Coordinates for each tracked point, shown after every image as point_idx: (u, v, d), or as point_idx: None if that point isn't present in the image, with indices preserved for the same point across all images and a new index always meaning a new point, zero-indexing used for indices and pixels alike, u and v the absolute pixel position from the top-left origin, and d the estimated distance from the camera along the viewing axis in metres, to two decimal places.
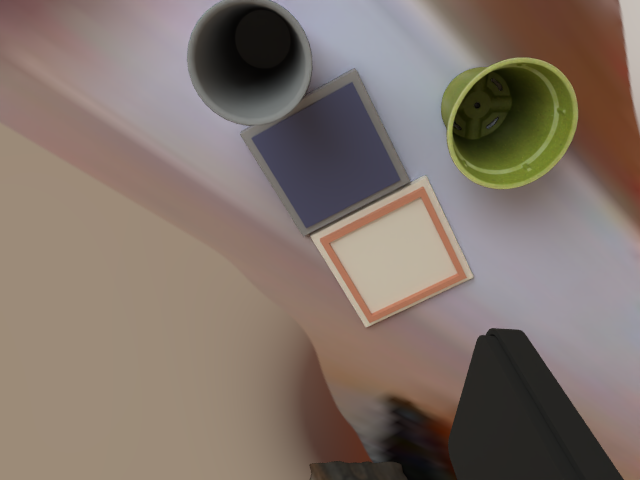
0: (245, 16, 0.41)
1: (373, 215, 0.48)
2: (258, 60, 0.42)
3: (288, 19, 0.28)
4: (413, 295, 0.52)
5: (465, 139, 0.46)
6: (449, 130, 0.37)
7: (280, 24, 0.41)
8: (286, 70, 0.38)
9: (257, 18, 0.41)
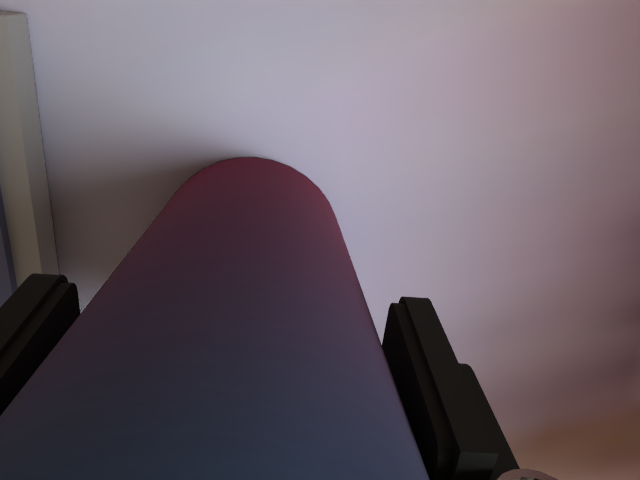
0: None
1: None
2: None
3: None
4: None
5: None
6: None
7: None
8: None
9: None
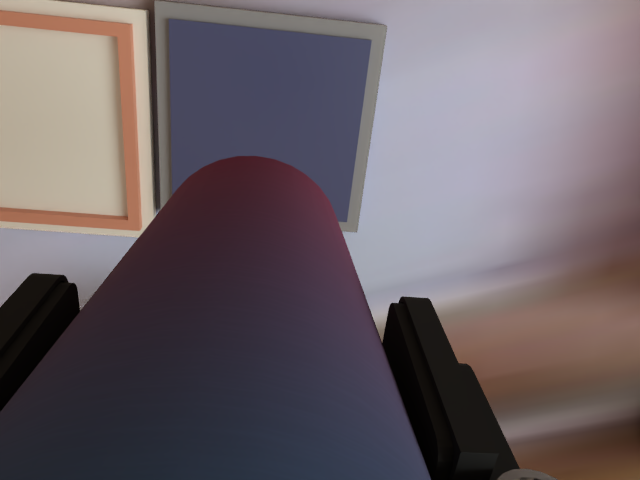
0: None
1: (132, 139, 0.27)
2: None
3: None
4: None
5: None
6: None
7: None
8: None
9: None
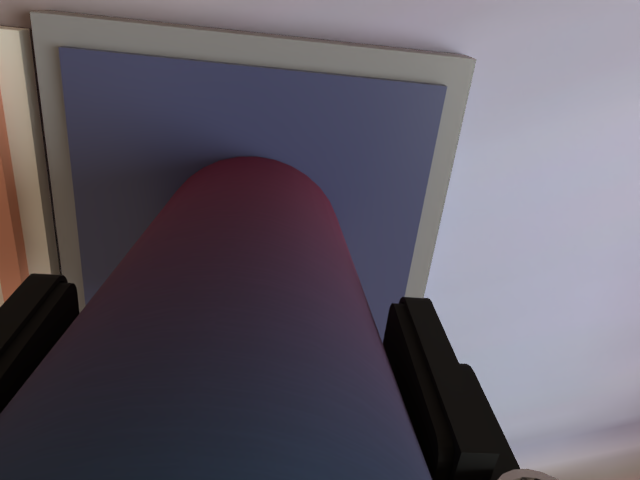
0: None
1: (12, 257, 0.15)
2: None
3: None
4: None
5: None
6: None
7: None
8: None
9: None
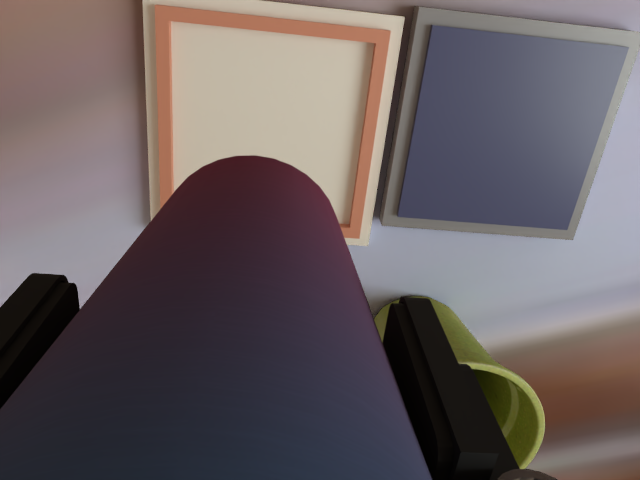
0: None
1: (370, 146, 0.27)
2: None
3: None
4: (171, 121, 0.26)
5: (383, 313, 0.31)
6: (511, 376, 0.24)
7: None
8: None
9: None
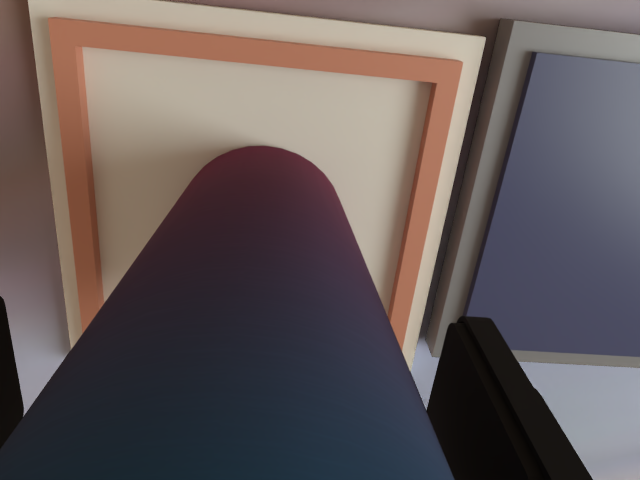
0: None
1: (420, 245, 0.16)
2: None
3: None
4: (93, 209, 0.16)
5: None
6: None
7: None
8: None
9: None
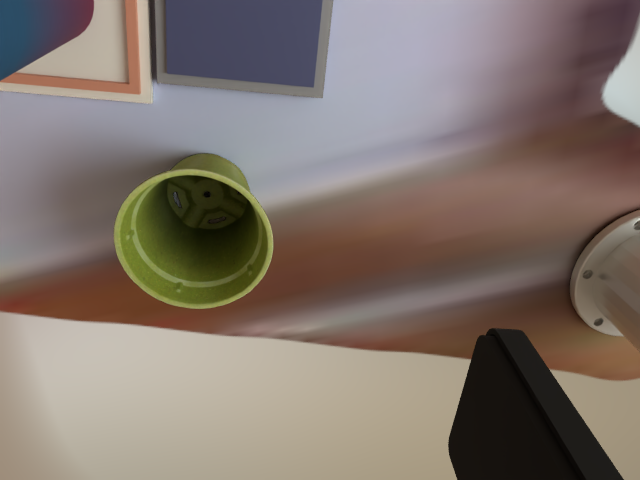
0: None
1: (133, 9, 0.32)
2: None
3: None
4: None
5: None
6: (230, 182, 0.30)
7: None
8: None
9: None
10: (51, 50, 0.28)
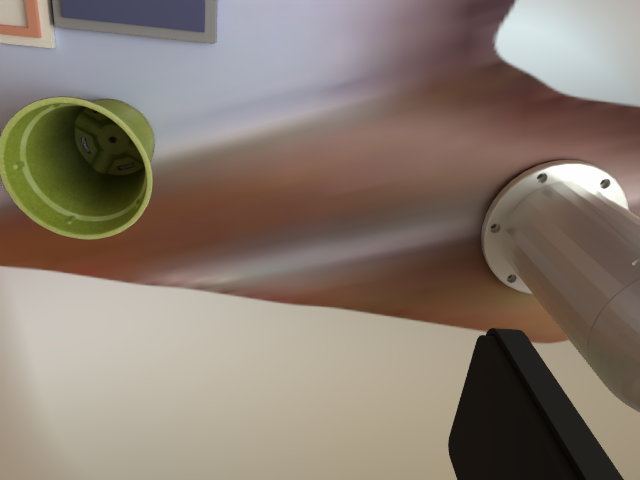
0: None
1: None
2: None
3: None
4: None
5: (80, 111, 0.39)
6: (103, 111, 0.32)
7: None
8: None
9: None
10: None
